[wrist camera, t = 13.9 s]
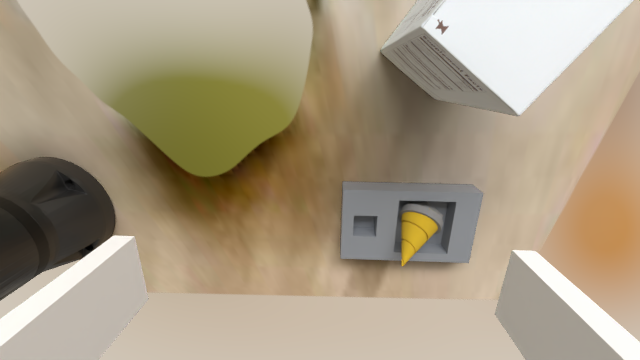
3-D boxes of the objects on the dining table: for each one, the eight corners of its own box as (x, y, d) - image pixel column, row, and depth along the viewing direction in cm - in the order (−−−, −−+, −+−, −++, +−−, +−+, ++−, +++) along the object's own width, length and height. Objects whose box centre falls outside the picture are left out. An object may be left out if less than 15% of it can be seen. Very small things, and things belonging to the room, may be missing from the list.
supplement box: (435, 102, 36) (516, 124, 20) (377, 51, 34) (414, 32, 18) (497, 31, 33) (650, -9, 17) (437, -27, 31) (543, -131, 15)
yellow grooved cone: (445, 215, 41) (421, 282, 36) (406, 201, 42) (380, 263, 38) (454, 195, 36) (428, 269, 32) (410, 181, 38) (381, 248, 34)
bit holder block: (340, 246, 43) (340, 258, 40) (342, 181, 40) (343, 189, 37) (459, 250, 42) (468, 262, 39) (472, 184, 39) (483, 193, 36)
